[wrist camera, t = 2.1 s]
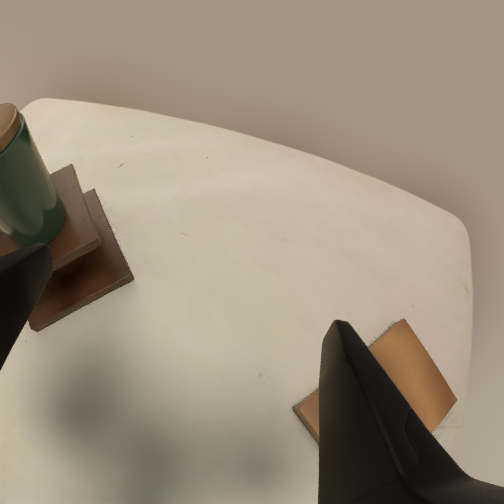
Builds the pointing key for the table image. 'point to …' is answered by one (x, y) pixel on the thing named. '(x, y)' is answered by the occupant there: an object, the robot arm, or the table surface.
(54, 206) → the jar
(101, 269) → the stand
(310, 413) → the trivet
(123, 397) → the table surface
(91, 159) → the table surface
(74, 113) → the table surface
